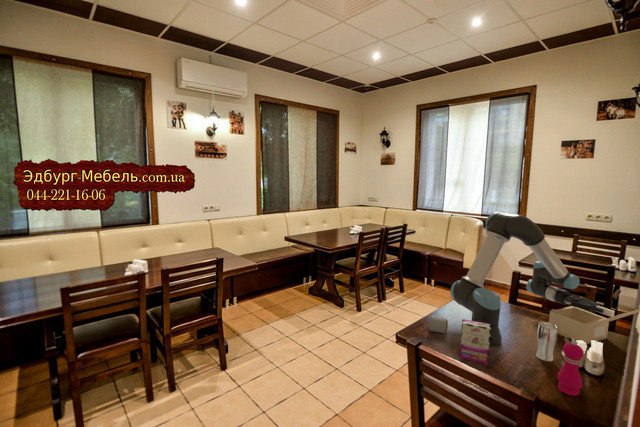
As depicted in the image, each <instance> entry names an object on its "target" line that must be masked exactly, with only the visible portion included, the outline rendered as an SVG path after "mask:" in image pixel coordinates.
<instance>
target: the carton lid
mask: <svg viewBox="0 0 640 427" xmlns="http://www.w3.org/2000/svg"><path fill="white" fill-rule="evenodd" d="M636 313H640V308H639V309H635V310H631V311H628V312H623V313H620V314H617V315H614V316H613V317H610V316H609V317H607V319H604V320H601V321H598V322H595V323H592V324H589V325H586V326H587V327H590V326H594V325H598V324H601V323H605V322H609V323H610V322H612V321H615V320H619V319H621V318H625V317H628V316H631V315H634V314H636Z"/></svg>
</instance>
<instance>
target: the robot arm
mask: <svg viewBox="0 0 640 427" xmlns="http://www.w3.org/2000/svg"><path fill="white" fill-rule="evenodd" d="M484 225H485V229H486V230H485V233H486V237H485V239H484V241H483V243H482V245H481V247H480V249H479V251H478V253H477V254H476V256H475V258H474V260H473V262H472V264H471V266H470V267H469V270H468V271H467V274H466V275H465V276H464V275H463V276H461V279H460V280H456V281H454V282H453V284H452V285H451V287H450V295H451V298H452V300H454V302H456V303H457V304H458V305H459V306H462V307H463V308H465V309H466V310H468V311H470V312H471V319H470V321H476V322H482V323H487V324H490V328H491V333H490V347H498V346H500V345H501V344H502V340H503V339H502V333H501V331H500V328H499V324H500V314H501V306H502V304H501V297H500V295H499V294H498V293H497V292H495V291H494V290H491V289H488V288H485V286H484V284H485V281H486V279H487V277H488V275H489V274H490V271H491V269H492V268H493V265H494V263H495V261H496V259H497V258H498V256H499V254H500V253H501V250H502V248H503V246H504V244H506V243H509V242H510V241H511V239H512V238H514V239H517V240H519V241H521V242H522V243H523V244H524V246H526V247H529V248H530V250H531V251H532V253H533V254H534V255H535V256H536V258H537V259H538V260H536V261H534V263H533V268H532V269H533V270H532V279H529V280H528V281H527V282H526V285H525V286H526V287H525V288H526V290H527V292H528V293H530V294H534V295H535V296H538V297H541V298H544V299H547V300H549V301H551V302H556V303H558V304H561V305H565V306H568V307H571V306H573V307H577V308H580V309H583V310H585V311H588V312H591V311H592V312H591V313H593V314H595V312H596V313H599V314H602V315H604V316H608V317H609V318H610V317H613V316H615V310H612V309H609V308H607V307H604V306H600V304H599V303H597V302H595V301H592V300H590V299H587V298H585V297H584V296H579V297H578V296H576V295H572V294H571V292H570V291H568V290H567V289H569V290H575V289H577V288H578V287H579V285H580V277H579V276H578V275H576V274H573V273H570V271H568V269H567V268H566V266H565V265H564V264H563V262H562V260H561V259H560V258H559V257H558V256H557V254H556V252H555V251H554V250H553V248H552V247H551V246H550V244H549V243H548V241H547V240H546V236H545V233H544V232H543V230H542V229H541V228H540V227H539V226H538V225H537V224H536V223H535V222H534V221H533V220H532V219H530V218H529V217H527V216H525V215H522V214H516V213H512V212H511V213H510V212H505V211H495V212H492V213H490V214H489V215H488V217H487V218H486V219H485V224H484ZM550 283H552V284H554V285H557V286H558V287H556V286H553V285H550ZM559 286H560V287H562V288H565V289H562V288H560V287H559Z"/></svg>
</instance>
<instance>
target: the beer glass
mask: <svg viewBox="0 0 640 427" xmlns="http://www.w3.org/2000/svg"><path fill="white" fill-rule="evenodd" d="M536 338H537V339H536V340H537V350H536V354H535V356H536V357H537V358H538V359H539V360H542V361H545V362H548V363H549V362H553V361H554V356H553V354H554V348H555V347H556V344H557V339H558V334H557V326H555V325H554V324H551V323H549V321H547V322H546V321H539V322H538V326H537V332H536Z"/></svg>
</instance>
